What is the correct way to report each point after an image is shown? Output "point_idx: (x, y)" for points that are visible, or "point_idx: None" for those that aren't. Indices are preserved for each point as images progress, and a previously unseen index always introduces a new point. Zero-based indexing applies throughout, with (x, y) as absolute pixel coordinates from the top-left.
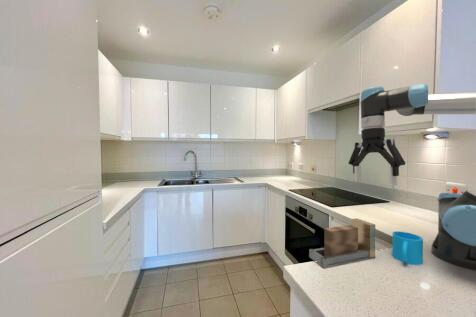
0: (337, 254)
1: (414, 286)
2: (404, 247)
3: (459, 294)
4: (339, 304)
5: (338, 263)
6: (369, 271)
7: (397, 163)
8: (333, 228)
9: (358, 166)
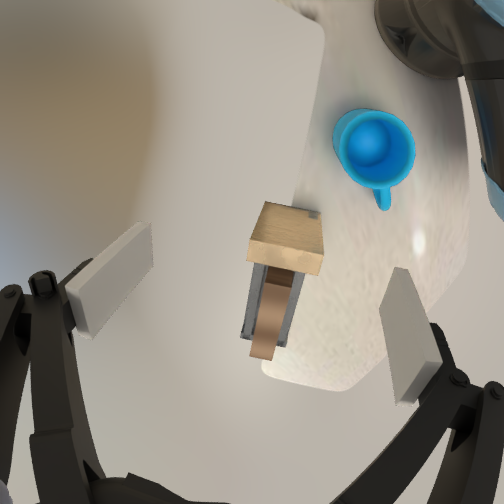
0: (285, 313)
1: (408, 262)
2: (386, 207)
3: (457, 223)
4: (349, 376)
5: (293, 311)
6: (340, 280)
7: (456, 429)
8: (260, 341)
9: (85, 313)
